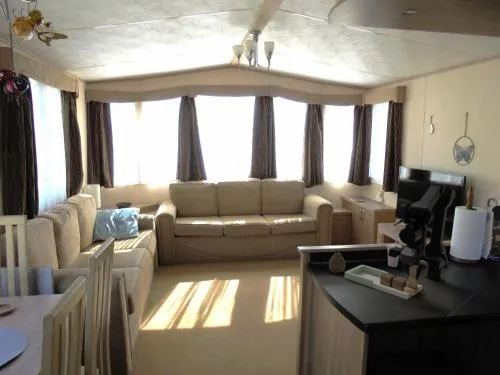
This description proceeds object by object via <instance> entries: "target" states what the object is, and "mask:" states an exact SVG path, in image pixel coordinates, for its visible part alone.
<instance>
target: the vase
mask: <svg viewBox="0 0 500 375" xmlns="http://www.w3.org/2000/svg"><path fill="white" fill-rule="evenodd" d="M328 268H329V270H330V272H331V273H333V274H334V275H335V274H338V273H339V274H340V273H344V272H345V269H346V260H345V259H344V257H343V256H342V253H341V252H335V253H334V254H333V255H332V256H331V258H330V259H329V262H328Z"/></svg>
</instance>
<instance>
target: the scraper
mask: <svg viewBox="0 0 500 375" xmlns="http://www.w3.org/2000/svg"><path fill="white" fill-rule="evenodd" d="M417 270H418V267H417V265H416V264H415V265H414V264H413V265H412V266H410V270H409V278H408V280H407V281H408V286H406V287H405V288H404V292H405V293H408V294H410V295H411V297H413V296H415V295H417V294H418V293H419V292H421V291H422V290H421V286H420V285H421V284H418V282H419V280H418V281H416V275H417Z"/></svg>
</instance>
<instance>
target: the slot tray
mask: <svg viewBox="0 0 500 375" xmlns="http://www.w3.org/2000/svg"><path fill="white" fill-rule="evenodd" d="M384 273H388V274H390V273H389V272H388V271H385V270H381V269H378V268H375V267H371V266H368V265H366V264H365V265H364V264H360V265H358V266H356V267H353V268H351V269H348V270H346V271H344V279H346V280H349V281H353V282H354V283H355V282H356V283H358V284H361V285H362V286H363V285H364V286H367V287H369V288H372V289H375V290H378V291H381V292H385V293H387V294H390V295H393V296H396V297H398V298H402V299H404V300H408V299H410V298H412V296H411V295H410V294H408V293H405V292H404V291H403V292H402V291H399V290H396V289H393V288H392V287H387V286H384V285H381V284H380V277H381V275H382V274H384ZM419 285H420V286H421V291H422V290H423V285H421V284H419ZM407 286H408V280H407Z"/></svg>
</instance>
